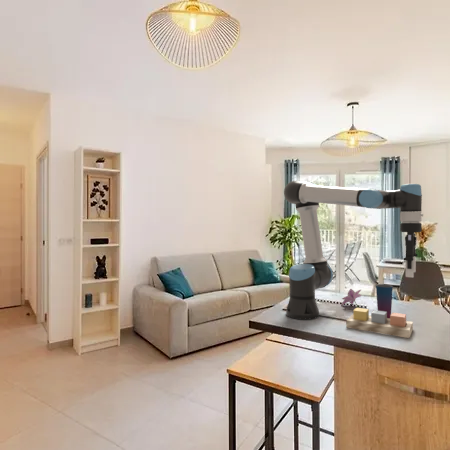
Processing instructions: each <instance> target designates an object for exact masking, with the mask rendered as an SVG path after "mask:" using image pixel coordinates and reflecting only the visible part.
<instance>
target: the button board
mask: <svg viewBox="0 0 450 450" xmlns="http://www.w3.org/2000/svg"><path fill="white" fill-rule="evenodd" d="M345 325H346V327H345V328H348V329H353V330H354V329H355V330H360V331H365V332H371V333H377V334H382V335H388V336H389V335H390V336H394V337H399V338H400V337H401V338H405V339H407V338H408V339H410V338H411V336H412V333H413V330H414V321H409V320H406V326H405V327H401V326H395V325H390V318H387V322H386V324H382V323H375V322H371V315H369V319H368V320H367V321H363V320H356V319H354V317H353V314H351V315H350V316H349V317H347V319H346V324H345Z"/></svg>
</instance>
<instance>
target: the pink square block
mask: <svg viewBox="0 0 450 450" xmlns="http://www.w3.org/2000/svg"><path fill="white" fill-rule="evenodd" d="M406 321H407V314H406V313H400V312H391V315H390V325H395V326H401V327H405V326H406Z"/></svg>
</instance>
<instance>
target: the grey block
mask: <svg viewBox="0 0 450 450" xmlns="http://www.w3.org/2000/svg"><path fill="white" fill-rule="evenodd" d="M370 316H371V322H375V323H382V324H386V322H387V312H385V311H378V309H373V310H372V312H371V315H370Z"/></svg>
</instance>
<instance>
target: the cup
mask: <svg viewBox="0 0 450 450" xmlns="http://www.w3.org/2000/svg"><path fill="white" fill-rule="evenodd" d="M393 287H394V286H393V285H391V284H384V283H379V284H378V283H377V284H376V285H375V291H376V293H375V294H376V304H377V305H376V307H377V310H378V311H385V312H387V318H390V315H391V314H392V308H393V307H392V305H393Z"/></svg>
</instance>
